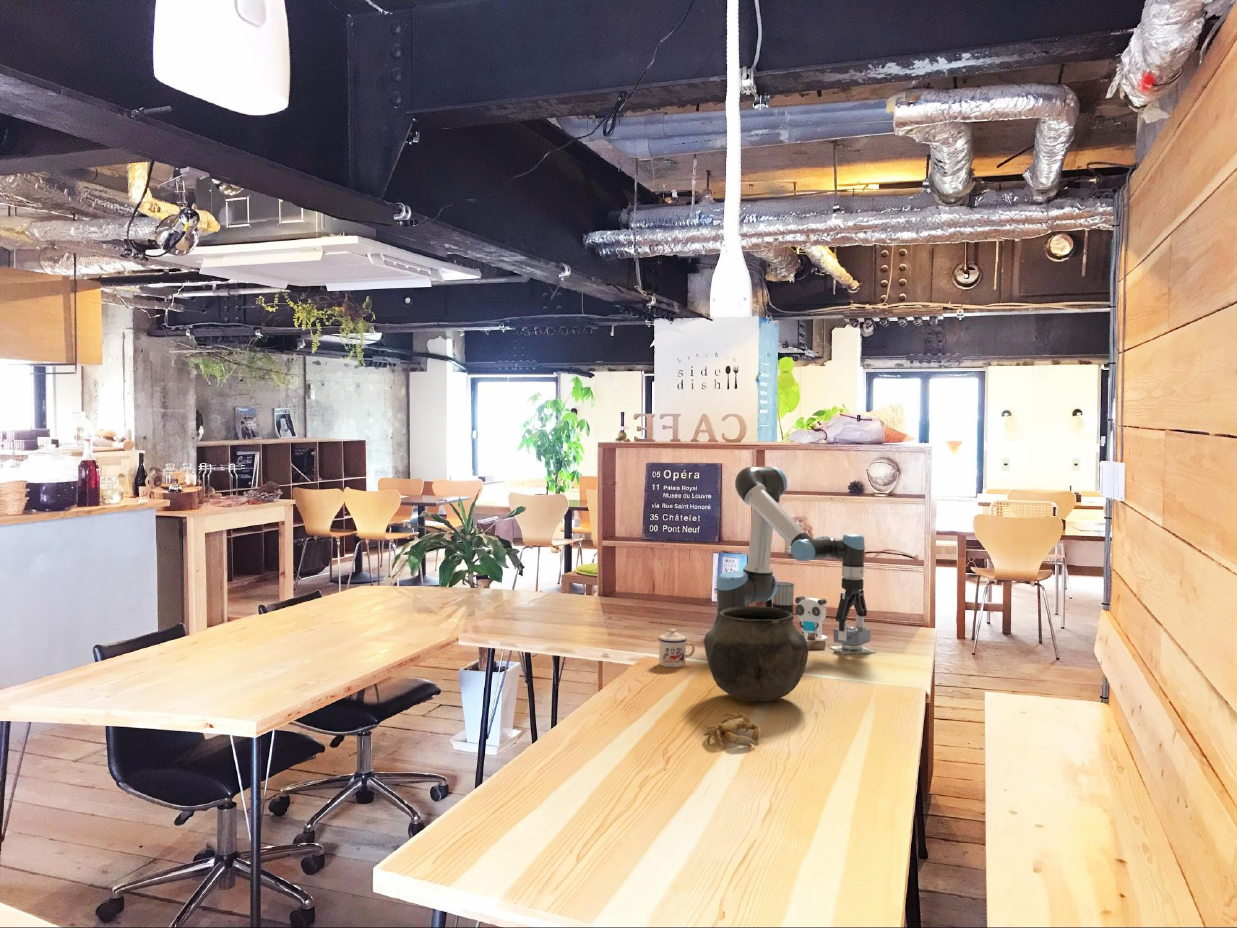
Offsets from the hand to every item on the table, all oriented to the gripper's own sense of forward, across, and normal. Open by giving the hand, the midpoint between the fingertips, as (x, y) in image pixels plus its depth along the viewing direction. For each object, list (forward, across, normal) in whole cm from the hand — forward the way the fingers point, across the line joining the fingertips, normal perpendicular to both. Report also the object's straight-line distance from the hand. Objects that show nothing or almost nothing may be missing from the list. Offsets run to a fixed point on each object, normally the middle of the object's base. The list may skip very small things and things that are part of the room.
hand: (851, 637), depth 320 cm
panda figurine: (+5, +10, +21) cm, 24 cm away
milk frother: (+6, +34, +50) cm, 61 cm away
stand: (+5, -6, +12) cm, 14 cm away
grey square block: (+1, 0, 0) cm, 2 cm away
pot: (+4, -78, -9) cm, 79 cm away
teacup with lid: (+5, -60, +33) cm, 68 cm away
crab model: (+4, -112, -23) cm, 115 cm away
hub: (+4, 0, 0) cm, 5 cm away
